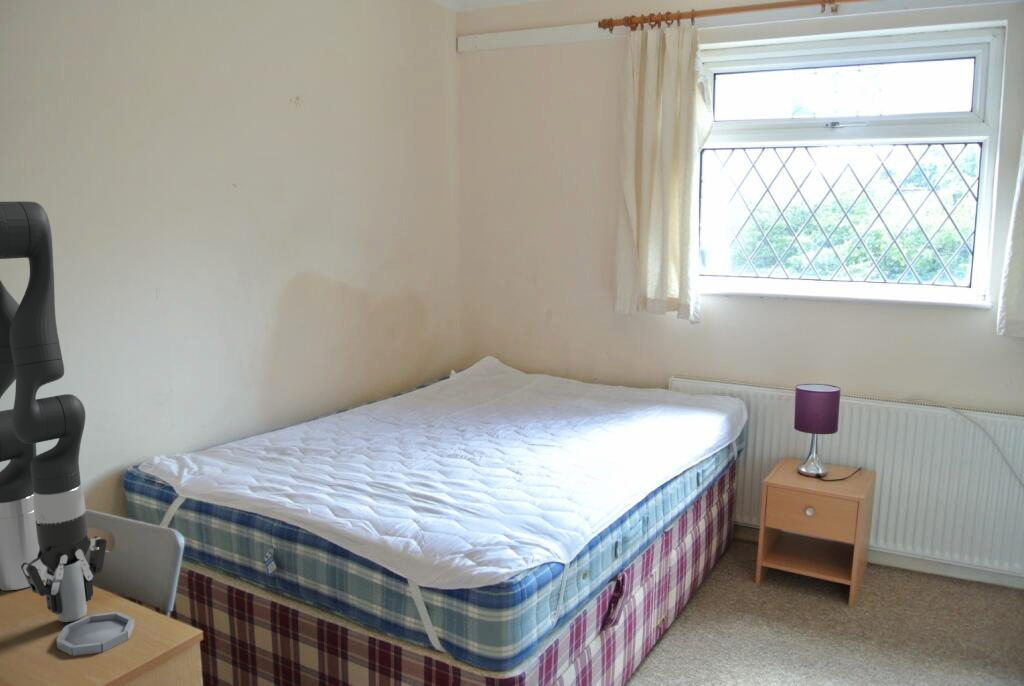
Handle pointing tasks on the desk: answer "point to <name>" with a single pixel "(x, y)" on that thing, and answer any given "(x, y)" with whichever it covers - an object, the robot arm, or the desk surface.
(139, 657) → the desk surface
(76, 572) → the planter
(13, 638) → the desk surface
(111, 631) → the saucer
